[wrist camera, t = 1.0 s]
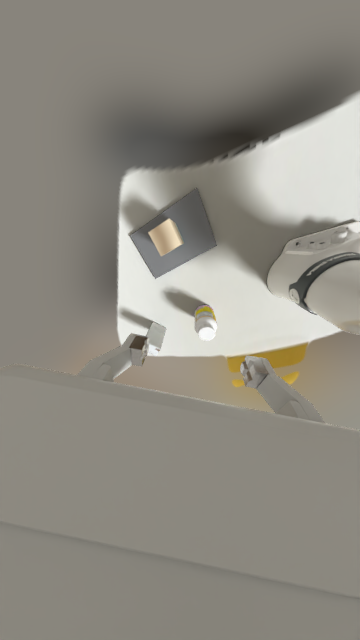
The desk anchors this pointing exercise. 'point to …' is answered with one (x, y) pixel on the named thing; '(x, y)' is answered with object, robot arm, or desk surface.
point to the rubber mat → (191, 228)
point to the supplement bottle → (205, 322)
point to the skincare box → (155, 338)
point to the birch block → (166, 237)
